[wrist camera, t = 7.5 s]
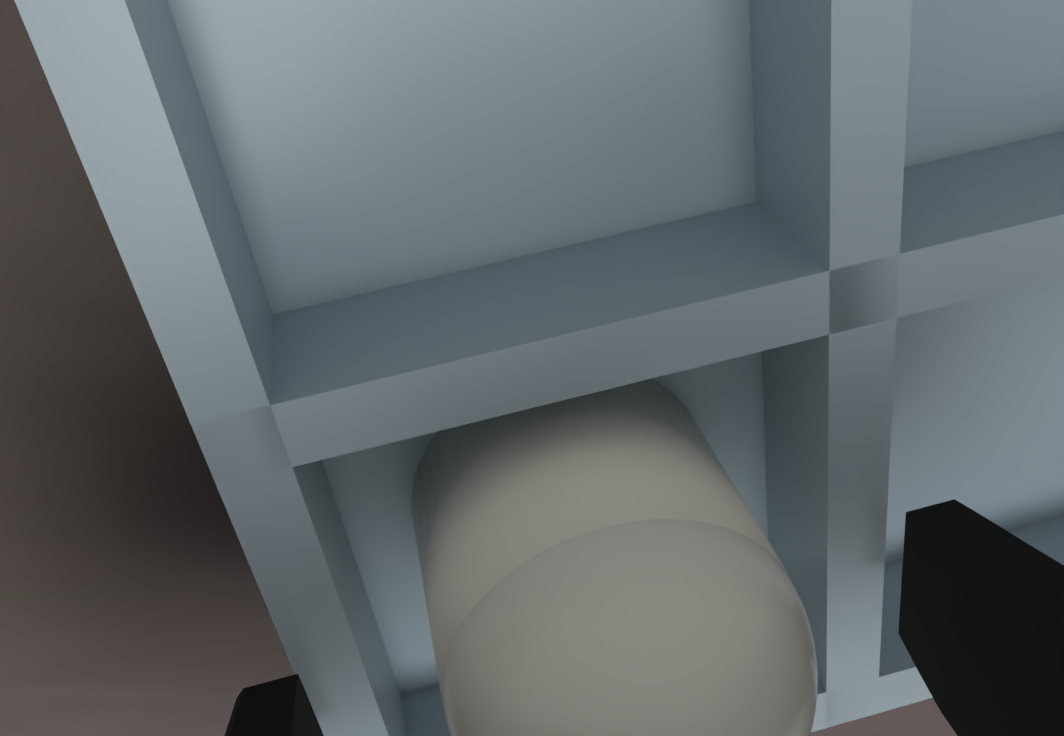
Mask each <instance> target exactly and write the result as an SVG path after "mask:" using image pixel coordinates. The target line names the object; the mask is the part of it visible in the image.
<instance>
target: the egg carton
mask: <svg viewBox="0 0 1064 736" xmlns="http://www.w3.org/2000/svg"><path fill="white" fill-rule="evenodd" d="M14 1H15V3H16V5H17V8H18V10H19V13H20V15H21V17H22V20H23V22H24V25H25V27H26V29H27V32H28V34H29V37H30V39H31V41H32V44H33V46H34V49H35V51H36V53H37V56H38V58H39V61H40V63H41V65H42V68H43V70H44V73H45V75H46V77H47V80H48V82H49V85H50V87H51V90H52V92H53V94H54V97H55V99H56V102H57V104H58V106H59V109H60V111H61V114H62V116H63V118H64V121H65V123H66V126H67V128H68V130H69V133H70V135H71V138H72V140H73V142H74V145H75V147H76V150H77V152H78V154H79V157H80V159H81V162H82V164H83V166H84V169H85V171H86V174H87V176H88V178H89V181H90V183H91V186H92V188H93V190H94V193H95V195H96V198H97V200H98V202H99V205H100V207H101V210H102V212H103V215H104V217H105V219H106V222H107V224H108V227H109V229H110V231H111V234H112V236H113V239H114V241H115V243H116V246H117V248H118V251H119V253H120V255H121V258H122V260H123V263H124V265H125V267H126V270H127V272H128V275H129V277H130V279H131V282H132V284H133V287H134V289H135V291H136V294H137V296H138V299H139V301H140V303H141V306H142V308H143V311H144V313H145V315H146V318H147V320H148V323H149V325H150V327H151V330H152V332H153V335H154V337H155V340H156V342H157V344H158V347H159V349H160V352H161V354H162V356H163V359H164V361H165V364H166V366H167V368H168V371H169V373H170V376H171V378H172V380H173V383H174V385H175V388H176V390H177V392H178V395H179V397H180V400H181V402H182V404H183V407H184V409H185V412H186V414H187V416H188V419H189V421H190V424H191V426H192V428H193V431H194V433H195V436H196V438H197V440H198V443H199V445H200V448H201V450H202V452H203V455H204V457H205V460H206V462H207V464H208V467H209V469H210V472H211V474H212V477H213V479H214V481H215V484H216V486H217V489H218V491H219V493H220V496H221V498H222V501H223V503H224V505H225V508H226V510H227V513H228V515H229V517H230V520H231V522H232V525H233V527H234V529H235V532H236V534H237V537H238V539H239V541H240V544H241V546H242V549H243V551H244V553H245V556H246V558H247V561H248V563H249V565H250V568H251V570H252V573H253V575H254V577H255V580H256V582H257V585H258V587H259V589H260V592H261V594H262V597H263V599H264V602H265V604H266V606H267V609H268V611H269V614H270V616H271V618H272V621H273V623H274V626H275V628H276V630H277V633H278V635H279V638H280V640H281V642H282V645H283V647H284V650H285V652H286V654H287V657H288V659H289V662H290V664H291V666H292V669H293V671H294V674H295V675H296V674H299V677H300V679H301V682H302V684H303V686H304V689H305V691H306V694H307V696H308V699H309V701H310V703H311V706H312V708H313V711H314V713H315V716H316V718H317V720H318V723H319V725H320V728H321V730H322V732H323V735H324V736H450V734H449V731H448V728H447V724H446V719H445V715H444V711H443V705H442V699H441V693H440V687H439V681H438V675H437V668H436V662H435V656H434V650H433V643H432V637H431V631H430V624H429V618H428V612H427V606H426V599H425V593H424V587H423V581H422V574H421V568H420V562H419V555H418V549H417V543H416V537H415V530H414V524H413V518H412V490H413V484H414V479H415V476H416V473H417V470H418V467H419V464H420V461H421V459H422V457H423V455H424V453H425V451H426V449H427V447H428V446H429V444H430V443H431V441H432V440H433V438H434V437H435V435H436V434H437V433H438V431H441V430H445V429H449V428H453V427H457V426H461V425H465V424H469V423H473V422H477V421H481V420H485V419H490V418H494V417H498V416H502V415H506V414H510V413H514V412H518V411H522V410H526V409H530V408H534V407H538V406H542V405H546V404H550V403H554V402H558V401H562V400H566V399H570V398H574V397H579V396H583V395H587V394H591V393H595V392H599V391H603V390H607V389H611V388H615V387H619V386H623V385H627V384H631V383H635V382H639V381H643V380H647V379H652V380H654V381H656V382H658V383H659V384H661V385H662V386H664V387H665V388H666V389H668V390H669V391H671V392H672V393H673V394H674V395H675V396H676V397H677V398H678V399H679V400H680V401H681V402H682V403H683V405H684V406H685V407H686V409H687V410H688V411H689V413H690V414H691V415H692V417H693V419H694V420H695V422H696V424H697V425H698V427H699V429H700V430H701V432H702V433H703V435H704V437H705V438H706V440H707V442H708V443H709V445H710V447H711V448H712V450H713V451H714V453H715V455H716V456H717V458H718V460H719V461H720V463H721V465H722V466H723V468H724V469H725V471H726V473H727V474H728V476H729V478H730V479H731V481H732V483H733V484H734V486H735V488H736V489H737V491H738V492H739V494H740V496H741V497H742V499H743V501H744V502H745V504H746V506H747V507H748V509H749V510H750V512H751V514H752V515H753V517H754V519H755V520H756V522H757V524H758V525H759V527H760V528H761V530H762V532H763V533H764V535H765V537H766V538H767V540H768V542H769V543H770V545H771V546H772V548H773V550H774V551H775V553H776V555H777V556H778V558H779V560H780V561H781V563H782V565H783V566H784V568H785V569H786V571H787V573H788V575H789V577H790V579H791V581H792V583H793V585H794V587H795V589H796V591H797V593H798V595H799V597H800V599H801V601H802V603H803V605H804V608H805V611H806V614H807V617H808V621H809V624H810V627H811V631H812V635H813V639H814V644H815V652H816V659H817V672H818V687H817V703H816V711H815V716H814V721H813V726H812V731H811V732H814V731H817V730H821V729H824V728H828V727H832V726H835V725H839V724H842V723H846V722H849V721H853V720H856V719H860V718H863V717H867V716H870V715H874V714H877V713H881V712H884V711H888V710H891V709H895V708H898V707H902V706H905V705H909V704H912V703H916V702H919V701H923V700H926V699H930V698H933V697H932V695H931V693H930V691H929V690H928V688H927V686H926V684H925V682H924V681H923V679H922V677H921V675H920V673H919V672H918V670H917V668H916V666H915V664H914V662H913V660H912V658H911V656H910V655H909V653H908V651H907V649H906V647H905V645H904V643H903V641H902V639H901V637H900V636H899V634H898V630H899V614H900V598H901V582H902V566H903V550H904V534H905V518H906V512H908V511H912V510H916V509H919V508H923V507H927V506H931V505H934V504H938V503H942V502H946V501H950V500H953V499H955V500H957V501H958V502H960V503H962V504H963V505H965V506H967V507H968V508H970V509H972V510H974V511H975V512H977V513H979V514H980V515H982V516H983V517H985V518H987V519H988V520H990V521H992V522H993V523H995V524H997V525H998V526H1000V527H1002V528H1003V529H1005V530H1006V531H1008V532H1010V533H1011V534H1013V535H1015V536H1016V537H1018V538H1019V539H1021V540H1023V541H1024V542H1026V543H1028V544H1029V545H1031V546H1033V547H1034V548H1036V549H1038V550H1039V551H1041V552H1042V553H1044V554H1046V555H1047V556H1049V557H1051V558H1052V559H1054V560H1056V561H1057V562H1059V563H1061V564H1062V565H1064V0H14Z"/></svg>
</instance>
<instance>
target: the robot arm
mask: <svg viewBox="0 0 1064 736" xmlns="http://www.w3.org/2000/svg"><path fill="white" fill-rule="evenodd" d="M898 634H899V636H900V637H901V639H902V641H903V643H904V645H905V647H906V649H907V651H908V653H909V655H910V656H911V658H912V660H913V662H914V664H915V666H916V668H917V670H918V672H919V673H920V675H921V677H922V679H923V681H924V682H925V684H926V686H927V688H928V690H929V691H930V693H931V695H932V697H933V698H934V700H935V702H936V704H937V706H938V707H939V709H940V711H941V712H942V714H943V715H944V717H945V718H946V720H947V721H948V722H949V724H950V725H951V727H952V728H953V730H954V731H955V733H956V734H957V735H958V736H1064V565H1062V564H1061V563H1059V562H1057V561H1056V560H1054V559H1052V558H1051V557H1049V556H1047V555H1046V554H1044V553H1042V552H1041V551H1039V550H1038V549H1036V548H1034V547H1033V546H1031V545H1029V544H1028V543H1026V542H1024V541H1023V540H1021V539H1019V538H1018V537H1016V536H1015V535H1013V534H1011V533H1010V532H1008V531H1006V530H1005V529H1003V528H1002V527H1000V526H998V525H997V524H995V523H993V522H992V521H990V520H988V519H987V518H985V517H983V516H982V515H980V514H979V513H977V512H975V511H974V510H972V509H970V508H968V507H967V506H965V505H963V504H962V503H960V502H958V501H957V500H955V499H953V500H950V501H946V502H942V503H938V504H934V505H931V506H927V507H923V508H919V509H916V510H912V511H908V512H906V518H905V534H904V550H903V566H902V582H901V598H900V614H899V630H898ZM225 736H324V735H323V732H322V730H321V728H320V725H319V723H318V720H317V718H316V716H315V713H314V711H313V708H312V706H311V703H310V701H309V699H308V696H307V694H306V691H305V689H304V686H303V684H302V682H301V679H300V677H299V674H296V675H292V676H288V677H285V678H281V679H277V680H273V681H270V682H266V683H262V684H258V685H255V686H251V687H247V688H244V689H243V690H242V692H241V693H240V694H239V696H238V697H237V699H236V702H235V705H234V709H233V712H232V715H231V718H230V721H229V724H228V727H227V730H226V733H225Z"/></svg>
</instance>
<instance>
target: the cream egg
mask: <svg viewBox="0 0 1064 736" xmlns="http://www.w3.org/2000/svg"><path fill="white" fill-rule="evenodd" d="M412 518H413V524H414V530H415V537H416V543H417V549H418V555H419V562H420V568H421V574H422V581H423V587H424V593H425V599H426V606H427V612H428V618H429V624H430V631H431V637H432V643H433V650H434V656H435V662H436V668H437V675H438V681H439V687H440V693H441V699H442V705H443V711H444V715H445V719H446V724H447V728H448V731H449V734H450V736H810V735H811V731H812V726H813V721H814V716H815V711H816V703H817V687H818V672H817V659H816V652H815V644H814V639H813V635H812V631H811V627H810V624H809V621H808V617H807V614H806V611H805V608H804V605H803V603H802V601H801V599H800V597H799V595H798V593H797V591H796V589H795V587H794V585H793V583H792V581H791V579H790V577H789V575H788V573H787V571H786V569H785V568H784V566H783V565H782V563H781V561H780V560H779V558H778V556H777V555H776V553H775V551H774V550H773V548H772V546H771V545H770V543H769V542H768V540H767V538H766V537H765V535H764V533H763V532H762V530H761V528H760V527H759V525H758V524H757V522H756V520H755V519H754V517H753V515H752V514H751V512H750V510H749V509H748V507H747V506H746V504H745V502H744V501H743V499H742V497H741V496H740V494H739V492H738V491H737V489H736V488H735V486H734V484H733V483H732V481H731V479H730V478H729V476H728V474H727V473H726V471H725V469H724V468H723V466H722V465H721V463H720V461H719V460H718V458H717V456H716V455H715V453H714V451H713V450H712V448H711V447H710V445H709V443H708V442H707V440H706V438H705V437H704V435H703V433H702V432H701V430H700V429H699V427H698V425H697V424H696V422H695V420H694V419H693V417H692V415H691V414H690V413H689V411H688V410H687V409H686V407H685V406H684V405H683V403H682V402H681V401H680V400H679V399H678V398H677V397H676V396H675V395H674V394H673V393H672V392H671V391H669V390H668V389H666V388H665V387H664V386H662V385H661V384H659V383H658V382H656V381H654V380H652V379H647V380H643V381H639V382H635V383H631V384H627V385H623V386H619V387H615V388H611V389H607V390H603V391H599V392H595V393H591V394H587V395H583V396H579V397H574V398H570V399H566V400H562V401H558V402H554V403H550V404H546V405H542V406H538V407H534V408H530V409H526V410H522V411H518V412H514V413H510V414H506V415H502V416H498V417H494V418H490V419H485V420H481V421H477V422H473V423H469V424H465V425H461V426H457V427H453V428H449V429H445V430H441V431H438V433H437V434H436V435H435V437H434V438H433V440H432V441H431V443H430V444H429V446H428V447H427V449H426V451H425V453H424V455H423V457H422V459H421V461H420V464H419V467H418V470H417V473H416V476H415V479H414V484H413V490H412Z"/></svg>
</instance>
